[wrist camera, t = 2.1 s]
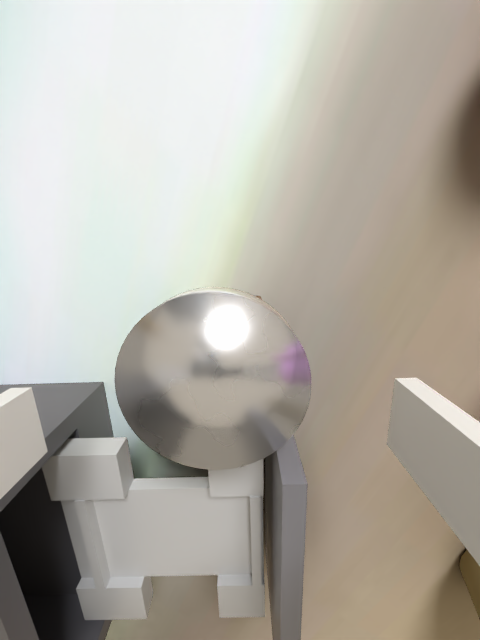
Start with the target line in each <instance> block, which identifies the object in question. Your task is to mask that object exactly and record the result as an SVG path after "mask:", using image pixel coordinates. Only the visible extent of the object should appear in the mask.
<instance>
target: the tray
mask: <svg viewBox="0 0 480 640" xmlns="http://www.w3.org/2000/svg"><path fill="white" fill-rule="evenodd" d="M42 470H43V473H44V477H45V480H46V484H47V487H48V491H49V494H50V498H51V501H59V500H61V504H62V507H63V511H64V515H65V519H66V522H67V526H68V530H69V534H70V537H71V541H72V545H73V548H74V552H75V556H76V560H77V563H78V567H79V571H80V574H81V580H80V582H79V584H78V586H77V588H76V591H77V594H78V598H79V601H80V605H81V609H82V612H83V616H84V619H85V620H125V619H147V617H148V613H149V609H150V605H151V601H152V597H153V587H152V581H151V576H196V575H218V581H217V591H218V604H219V617H220V618H233V617H265V585H264V552H263V496H264V479H263V459H261V460H259V461H257V462H255V463H252V464H249V465H246V466H242V467H238V468H232V469H223V470H208V475H209V477H179V478H137V479H134V476H133V470H132V464H131V458H130V452H129V446H128V440H127V437H113V438H73V439H67V440H66V441H65V442H64V443H63V444H62V445H61V446H60V448H59V449H58V450H57V451H56V452H55V453H54V454H53V455H52V456H51V457H50V458H49V460H48V461H47V462H46V463H45V464H44V465H43V466H42ZM307 485H308V484H307V481H306V477H305V474H304V470H303V467H302V463H301V460H300V456H299V453H298V449H297V446H296V442H295V439H294V435H292V437H291V438H290V439H289V440H288V441H287V442H286V443H285V444H284V445H283V446H282V447H280V448H279V449H278V450H276V451H275V452H274V453H272V454H270V455H269V456H267V457H265V514H266V563H267V575H268V587H269V599H270V611H271V623H272V635H273V640H301V618H302V596H303V573H304V551H305V529H306V507H307Z"/></svg>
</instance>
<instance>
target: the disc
mask: <svg viewBox="0 0 480 640" xmlns="http://www.w3.org/2000/svg"><path fill="white" fill-rule="evenodd" d="M115 389H116V395H117V399H118V403H119V406H120V408H121V411H122V413H123V416H124V417H125V419H126V421H127V423H128V424H129V426H130V427H131V428H132V430H133V431H134V432H135V434H136V435H137V436H138V437H139V438H140V439H141V440H142V441H143V442H144V443H145V444H146V445H148V446H149V447H150V448H151V449H152V450H154V451H156V452H157V453H159V454H160V455H162V456H164V457H166V458H168V459H170V460H172V461H174V462H177V463H180V464H182V465H186V466H190V467H194V468H200V469H208V470H223V469H232V468H238V467H242V466H246V465H249V464H252V463H255V462H257V461H259V460H261V459H264V458H265V457H267V456H269V455H270V454H272V453H274V452H275V451H276V450H278V449H279V448H280V447H282V446H283V445H284V444H285V443H286V442H287V441H288V440H289V439H290V438H291V437H292V435H293V434H294V433H295V431H296V430H297V429H298V427H299V425H300V424H301V422H302V420H303V418H304V416H305V413H306V411H307V408H308V404H309V401H310V395H311V373H310V367H309V363H308V360H307V357H306V354H305V351H304V349H303V347H302V345H301V343H300V341H299V340H298V338H297V337H296V335H295V333H294V332H293V330H292V329H291V327H290V326H289V324H288V323H287V322H286V320H285V319H284V318H283V317H282V316H281V315H280V314H279V312H278V311H276V310H275V309H274V308H273V307H272V306H270V305H269V304H268V303H266V302H265V301H263V300H261V299H260V298H258V297H256V296H254V295H251V294H249V293H247V292H243V291H240V290H237V289H231V288H225V287H205V288H197V289H193V290H189V291H186V292H183V293H180V294H178V295H176V296H174V297H172V298H170V299H168V300H166V301H165V302H163V303H162V304H161V305H159V306H158V307H156V308H155V309H153V310H152V311H151V312H149V313H148V314H147V315H145V316H144V317H143V318H142V319H141V320H140V321H139V322H138V323H137V324H136V325H135V326H134V327H133V329H132V330H131V331H130V333H129V334H128V335H127V337H126V339H125V341H124V343H123V345H122V346H121V349H120V352H119V355H118V358H117V363H116V368H115Z"/></svg>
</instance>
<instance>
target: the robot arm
mask: <svg viewBox="0 0 480 640" xmlns="http://www.w3.org/2000/svg"><path fill="white" fill-rule="evenodd" d="M387 445H388V447H389V448H390V449H391V450H392V452H393V453H394V454H395V456H396V457H397V458H398V460H399V461H400V462H401V464H402V465H403V466H404V468H405V469H406V470H407V471H408V473H409V474H410V475H411V477H412V478H413V479H414V481H415V482H416V483H417V485H418V486H419V487H420V489H421V490H422V491H423V492H424V494H425V495H426V496H427V498H428V499H429V500H430V502H431V503H432V504H433V506H434V507H435V508H436V509H437V511H438V512H439V513H440V515H441V516H442V517H443V519H444V520H445V521H446V523H447V524H448V525H449V527H450V528H451V529H452V530H453V532H454V533H455V534H456V536H457V537H458V538H459V540H460V541H461V542H462V544H463V545H464V546H465V548H466V549H467V550H468V551H469V553H470V554H471V555H472V557H473V558H474V559H475V561H476V562H477V563H478V565H479V566H480V422H479V421H477V420H476V419H474V418H473V417H471V416H470V415H469V414H467V413H466V412H464V411H463V410H462V409H460V408H459V407H457V406H456V405H454V404H453V403H452V402H450V401H449V400H447V399H446V398H445V397H443V396H442V395H440V394H439V393H437V392H436V391H435V390H433V389H432V388H430V387H429V386H428V385H426V384H425V383H423V382H422V381H420V380H419V379H418V378H395V382H394V390H393V398H392V406H391V414H390V422H389V430H388V438H387ZM47 452H48V451H47V447H46V443H45V439H44V435H43V431H42V427H41V423H40V419H39V415H38V411H37V407H36V403H35V399H34V395H33V391H32V387H27V388H10V389H8V390H6V391H5V392H3V393H1V394H0V499H1V498H2V497H3V496H4V495H5V494H6V493H7V492H8V491H9V490H10V489H11V488H12V487H13V486H14V485H15V484H16V483H17V482H18V481H19V480H20V479H21V478H22V477H23V476H24V475H25V474H26V473H27V472H28V471H29V470H30V469H31V468H32V467H33V466H34V465H35V464H36V463H37V462H38V461H39V460H40V459H41V458H42V457H43V456H44V455H45V454H46V453H47Z"/></svg>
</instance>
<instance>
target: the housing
mask: <svg viewBox="0 0 480 640" xmlns="http://www.w3.org/2000/svg"><path fill="white" fill-rule="evenodd" d="M27 387H32V391H33V395H34V399H35V403H36V407H37V411H38V415H39V419H40V423H41V427H42V431H43V435H44V439H45V443H46V447H47V451H48V452H47V453H46V454H45V455H44V456H43V457H42V458H41V459H40V460H39V461H38V462H37V463H36V464H35V465H34V466H33V467H32V468H31V469H30V470H29V471H28V472H27V473H26V474H25V475H24V476H23V477H22V478H21V479H20V480H19V481H18V482H17V483H16V484H15V485H14V486H13V487H12V488H11V489H10V490H9V491H8V492H7V493H6V494H5V495H4V496H3V497H2V498H1V499H0V640H105V638H106V635H107V632H108V629H109V626H110V624H111V621H112V620H85V619H84V616H83V612H82V609H81V605H80V601H79V598H78V594H77V591H76V588H77V586H78V584H79V582H80V580H81V574H80V571H79V567H78V563H77V560H76V556H75V552H74V548H73V545H72V541H71V537H70V534H69V530H68V526H67V522H66V519H65V515H64V511H63V507H62V504H61V500H59V501H51V498H50V494H49V491H48V487H47V484H46V480H45V477H44V473H43V470H42V466H43V465H44V464H45V463H46V462H47V461H48V460H49V458H50V457H51V456H52V455H53V454H54V453H55V452H56V451H57V450H58V449H59V448H60V446H61V445H62V444H63V443H64V442H65V441H66V440H67V439H73V438H113V432H112V426H111V421H110V416H109V410H108V405H107V400H106V394H105V389H104V383H103V382H92V383H55V384H19V385H0V394H1V393H3V392H5V391H6V390H8V389H10V388H27Z"/></svg>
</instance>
